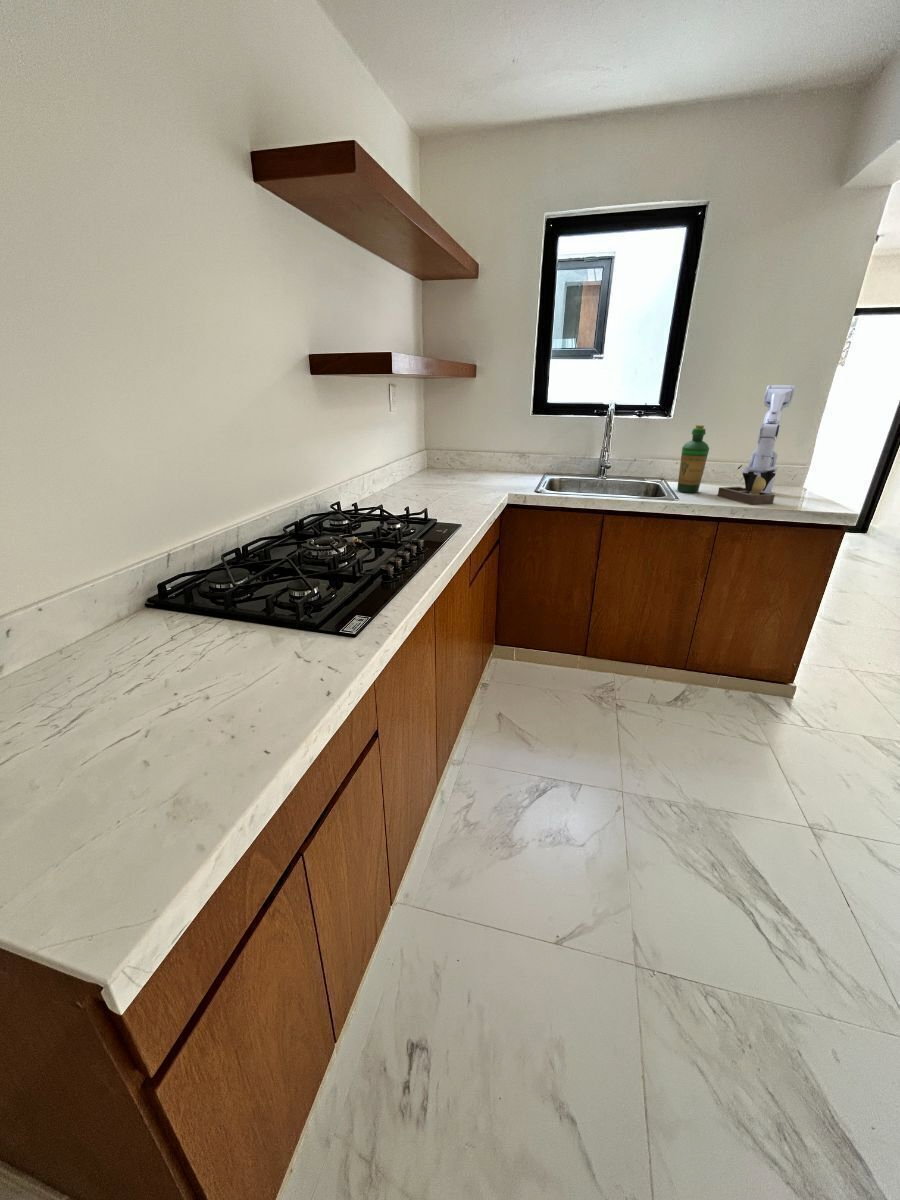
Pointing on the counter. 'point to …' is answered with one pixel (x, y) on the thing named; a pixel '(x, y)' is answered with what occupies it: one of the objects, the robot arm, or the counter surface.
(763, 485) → the light bulb
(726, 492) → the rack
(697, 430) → the bottle
